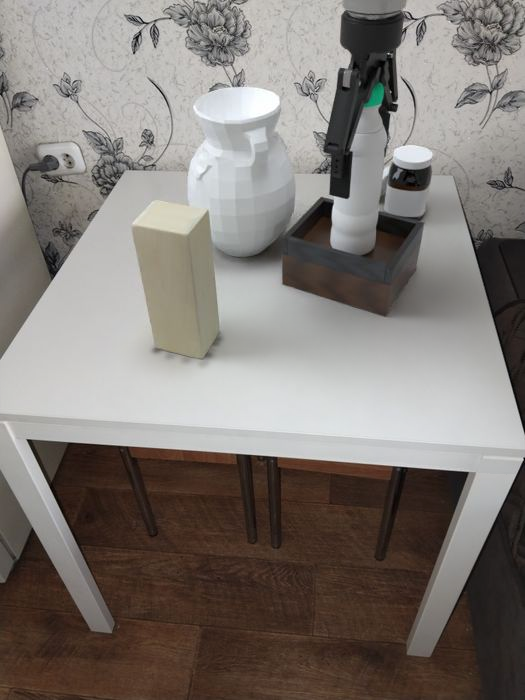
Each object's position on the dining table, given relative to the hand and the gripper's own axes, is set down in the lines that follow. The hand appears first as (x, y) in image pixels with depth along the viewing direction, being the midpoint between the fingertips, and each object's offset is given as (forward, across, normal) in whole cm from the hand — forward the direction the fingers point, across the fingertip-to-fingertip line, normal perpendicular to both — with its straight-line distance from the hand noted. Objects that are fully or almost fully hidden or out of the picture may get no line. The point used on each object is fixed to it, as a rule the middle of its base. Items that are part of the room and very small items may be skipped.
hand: (358, 175), depth 85 cm
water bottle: (+12, 0, 0) cm, 12 cm away
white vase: (+18, -1, -21) cm, 28 cm away
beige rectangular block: (+18, +25, -15) cm, 34 cm away
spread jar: (+18, -24, -1) cm, 30 cm away
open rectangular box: (+18, 0, 0) cm, 18 cm away
